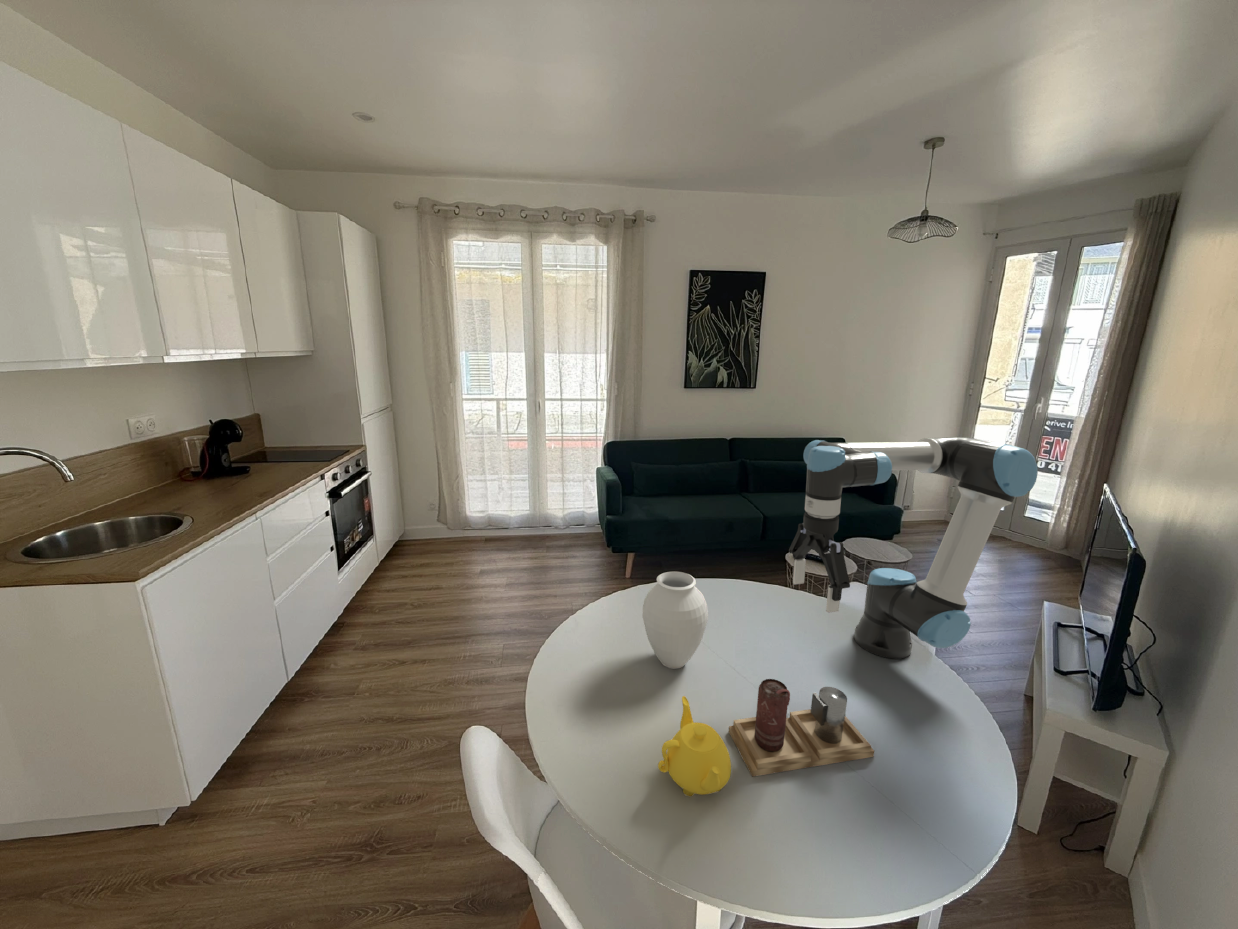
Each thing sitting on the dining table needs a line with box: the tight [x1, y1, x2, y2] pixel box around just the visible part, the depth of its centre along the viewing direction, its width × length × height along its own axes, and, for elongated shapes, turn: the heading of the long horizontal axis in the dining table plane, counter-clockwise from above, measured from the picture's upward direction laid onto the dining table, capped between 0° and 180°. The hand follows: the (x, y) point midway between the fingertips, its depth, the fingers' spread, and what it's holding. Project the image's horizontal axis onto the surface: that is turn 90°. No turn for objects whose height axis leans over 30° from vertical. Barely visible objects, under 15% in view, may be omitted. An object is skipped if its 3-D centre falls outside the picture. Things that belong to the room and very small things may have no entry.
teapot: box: [657, 695, 732, 797], centre depth 96 cm, size 20×15×12 cm
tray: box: [728, 708, 875, 777], centre depth 105 cm, size 28×12×3 cm, turn 101°
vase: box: [642, 570, 709, 670], centre depth 131 cm, size 18×18×25 cm
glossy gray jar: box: [810, 686, 848, 744], centre depth 105 cm, size 6×6×10 cm
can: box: [754, 678, 791, 752], centre depth 103 cm, size 6×6×14 cm
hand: (814, 596), depth 115 cm, fingers open, 13 cm apart
